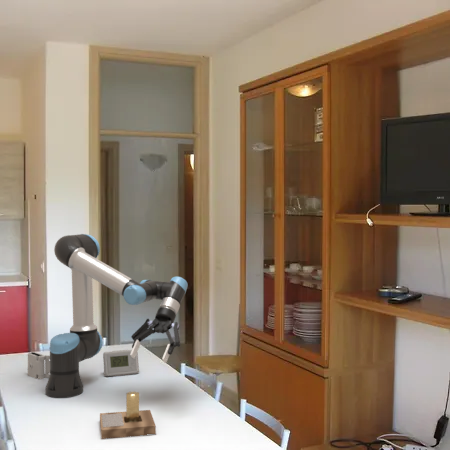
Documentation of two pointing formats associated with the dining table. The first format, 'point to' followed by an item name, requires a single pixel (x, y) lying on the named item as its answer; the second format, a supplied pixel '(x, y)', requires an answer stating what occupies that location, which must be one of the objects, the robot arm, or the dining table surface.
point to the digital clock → (120, 363)
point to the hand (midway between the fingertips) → (147, 358)
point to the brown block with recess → (126, 425)
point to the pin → (132, 407)
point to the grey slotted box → (38, 365)
